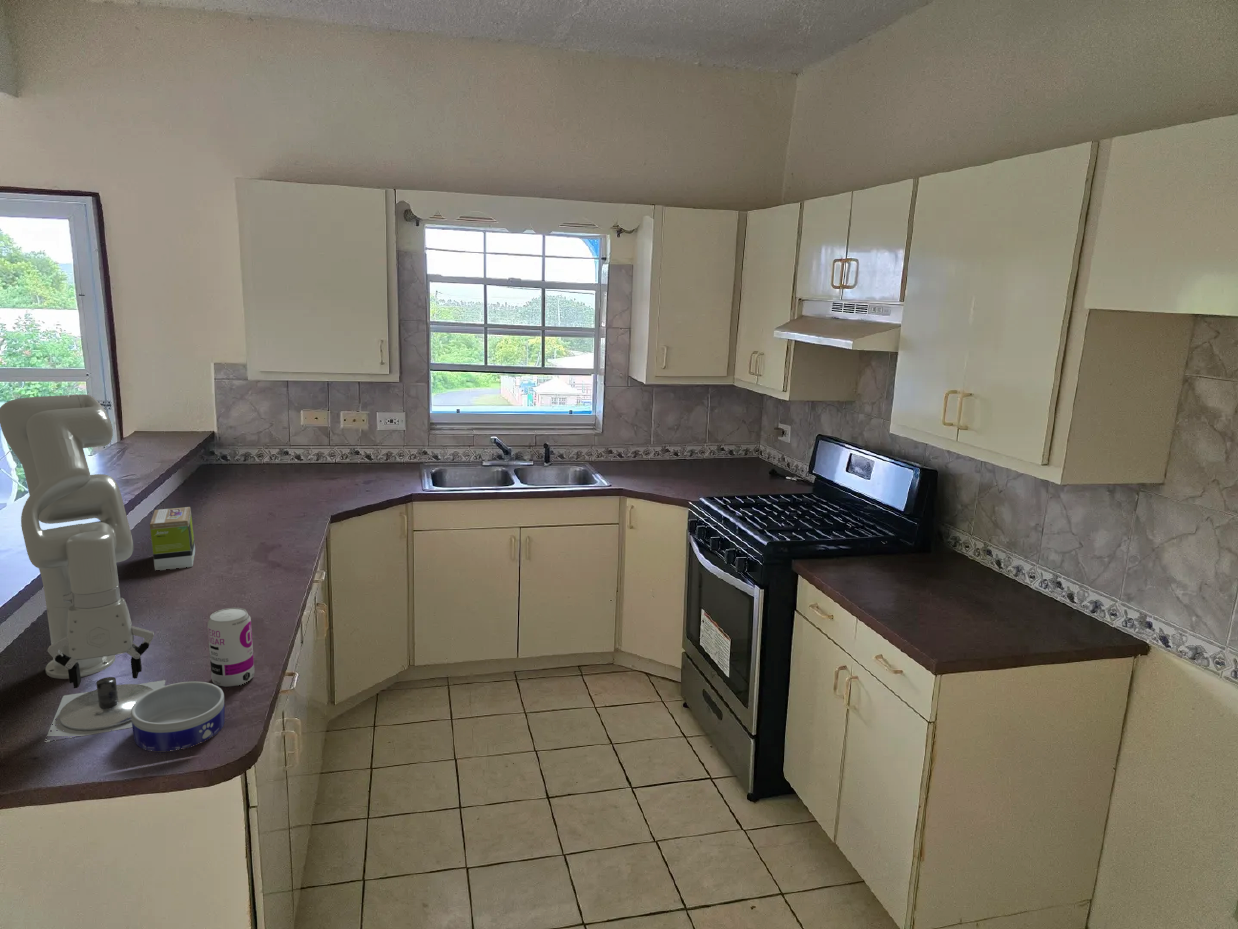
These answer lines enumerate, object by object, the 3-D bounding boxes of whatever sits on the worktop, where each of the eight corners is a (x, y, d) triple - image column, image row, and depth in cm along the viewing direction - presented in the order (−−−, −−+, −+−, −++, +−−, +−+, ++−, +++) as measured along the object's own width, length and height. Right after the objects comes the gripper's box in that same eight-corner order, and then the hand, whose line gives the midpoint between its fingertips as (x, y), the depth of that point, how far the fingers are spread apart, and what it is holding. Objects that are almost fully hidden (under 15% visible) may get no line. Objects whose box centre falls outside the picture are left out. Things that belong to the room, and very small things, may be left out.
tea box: (158, 555, 241) (154, 508, 238) (196, 551, 245) (192, 505, 242) (153, 571, 228) (149, 522, 225) (193, 567, 232) (189, 519, 229)
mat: (63, 697, 160) (63, 695, 160) (165, 681, 168) (165, 680, 167) (44, 744, 144) (44, 742, 144) (158, 724, 152) (157, 722, 152)
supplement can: (260, 670, 174) (256, 607, 170) (244, 689, 166) (239, 623, 162) (223, 670, 173) (218, 606, 170) (205, 689, 165) (199, 622, 162)
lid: (68, 697, 159) (64, 670, 158) (159, 682, 166) (156, 656, 165) (52, 738, 145) (48, 709, 144) (152, 721, 152) (149, 692, 151)
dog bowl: (186, 760, 141) (184, 730, 140) (112, 745, 144) (110, 715, 143) (242, 716, 156) (241, 688, 154) (174, 703, 158) (172, 675, 157)
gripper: (36, 610, 143) (49, 697, 147) (147, 596, 151) (156, 680, 154) (45, 596, 150) (57, 680, 153) (151, 584, 157) (160, 664, 161)
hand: (107, 680), depth 154 cm, fingers open, 9 cm apart
